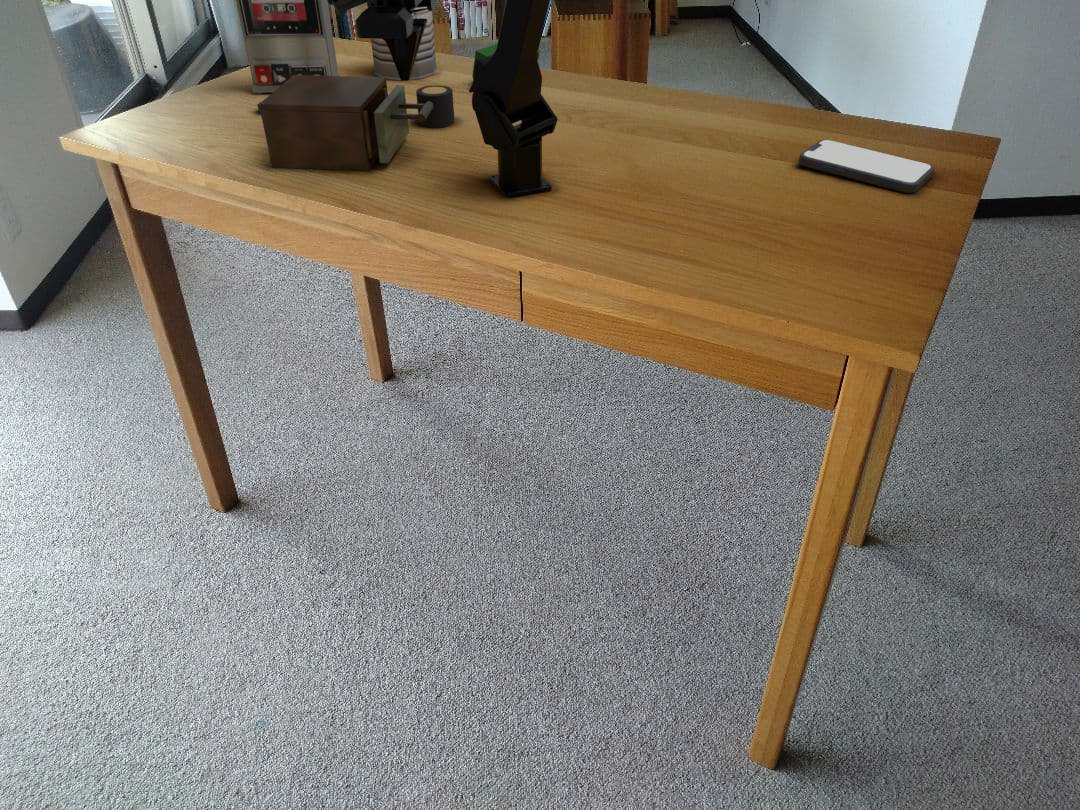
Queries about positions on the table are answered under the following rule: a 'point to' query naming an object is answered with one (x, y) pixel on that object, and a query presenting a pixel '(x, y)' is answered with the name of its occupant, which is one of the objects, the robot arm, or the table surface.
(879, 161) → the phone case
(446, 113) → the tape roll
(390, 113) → the drawer
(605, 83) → the table surface
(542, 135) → the robot arm
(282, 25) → the cassette tape recorder
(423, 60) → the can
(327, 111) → the cabinet
